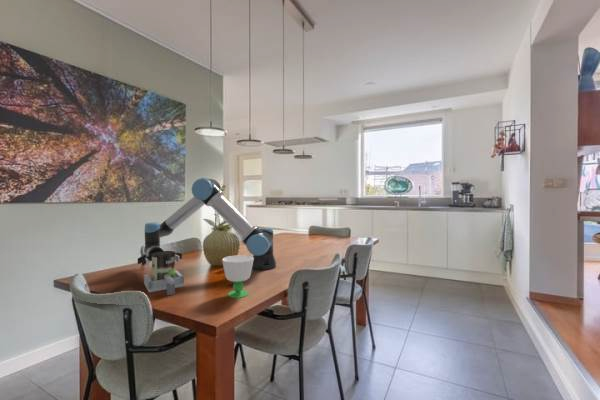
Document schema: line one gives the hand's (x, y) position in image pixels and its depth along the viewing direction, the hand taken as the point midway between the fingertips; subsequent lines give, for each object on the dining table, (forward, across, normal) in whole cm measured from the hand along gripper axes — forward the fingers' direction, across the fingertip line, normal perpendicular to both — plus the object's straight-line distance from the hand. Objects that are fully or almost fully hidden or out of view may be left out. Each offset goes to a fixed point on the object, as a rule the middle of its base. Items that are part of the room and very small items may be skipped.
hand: (163, 261), depth 140 cm
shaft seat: (+3, 0, -12) cm, 12 cm away
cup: (+31, -24, -12) cm, 41 cm away
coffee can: (-1, 0, -10) cm, 11 cm away
